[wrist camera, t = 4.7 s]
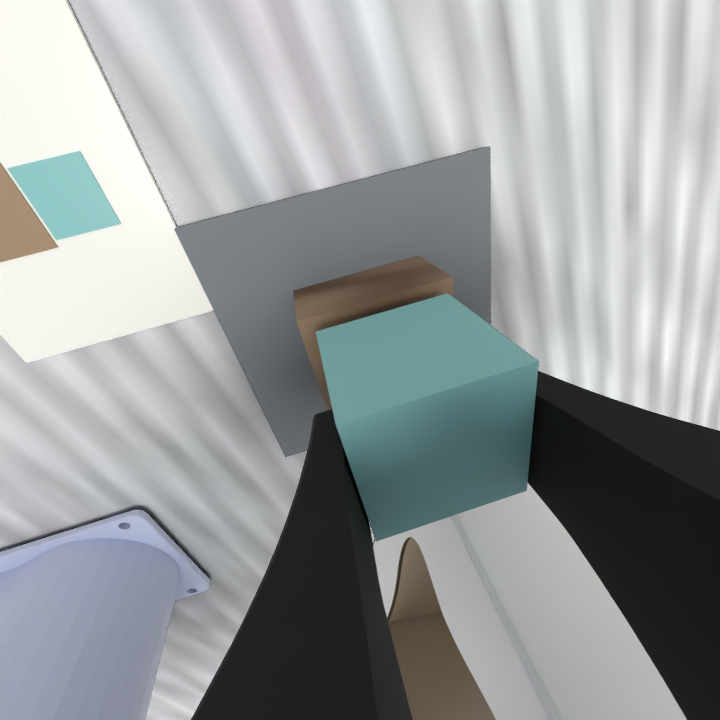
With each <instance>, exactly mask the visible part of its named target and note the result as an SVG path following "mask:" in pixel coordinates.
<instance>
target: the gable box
mask: <svg viewBox="0 0 720 720" xmlns="http://www.w3.org/2000/svg"><path fill="white" fill-rule="evenodd" d="M373 549H374V555H375V561H376V567H377V573H378V579H379V584H380V589H381V594H382V599H383V604H384V608H385V612H386V616H387V620H388V624H389V628H390V632H391V636H392V640H393V644H394V648H395V652H396V656H397V660H398V664H399V668H400V672H401V676H402V680H403V683H404V687H405V691H406V695H407V699H408V703H409V707H410V711H411V715H412V719H413V720H687V719H686V717H685V716H684V714H683V712H682V710H681V709H680V707H679V705H678V704H677V702H676V700H675V699H674V697H673V695H672V693H671V692H670V690H669V688H668V687H667V685H666V683H665V682H664V680H663V678H662V677H661V675H660V673H659V672H658V670H657V668H656V667H655V665H654V664H653V662H652V660H651V659H650V657H649V656H648V654H647V652H646V651H645V649H644V647H643V646H642V644H641V643H640V641H639V639H638V638H637V636H636V635H635V633H634V631H633V630H632V628H631V626H630V625H629V623H628V622H627V620H626V619H625V617H624V615H623V614H622V612H621V611H620V609H619V608H618V606H617V605H616V603H615V602H614V600H613V599H612V597H611V596H610V594H609V592H608V591H607V589H606V588H605V586H604V585H603V583H602V582H601V580H600V579H599V577H598V576H597V574H596V573H595V571H594V570H593V568H592V567H591V565H590V564H589V562H588V561H587V559H586V558H585V556H584V555H583V554H582V552H581V551H580V549H579V548H578V546H577V545H576V543H575V542H574V540H573V539H572V537H571V536H570V535H569V533H568V532H567V531H566V529H565V528H564V527H563V525H562V524H561V523H560V522H559V520H558V519H557V518H556V516H555V515H554V514H553V513H552V512H551V510H550V509H549V508H548V507H547V505H546V504H545V503H544V502H543V501H542V499H541V498H540V497H539V496H538V494H537V493H536V492H535V491H534V490H533V488H532V487H531V486H530V485H529V483H528V482H527V491H525V492H522V493H519V494H516V495H513V496H510V497H507V498H504V499H501V500H498V501H495V502H492V503H489V504H486V505H483V506H480V507H477V508H474V509H471V510H468V511H465V512H462V513H459V514H456V515H454V516H451V517H448V518H445V519H442V520H439V521H436V522H433V523H430V524H427V525H424V526H421V527H418V528H415V529H412V530H409V531H406V532H403V533H400V534H397V535H394V536H391V537H388V538H385V539H382V540H380V541H377V542H376V540H375V542H374V545H373Z"/></svg>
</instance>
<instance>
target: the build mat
mask: <svg viewBox="0 0 720 720" xmlns="http://www.w3.org/2000/svg"><path fill="white" fill-rule="evenodd" d="M174 230H175V232H176V234H177V236H178V238H179V240H180V243H181V245H182V247H183V249H184V251H185V253H186V255H187V257H188V259H189V261H190V263H191V265H192V267H193V269H194V271H195V273H196V275H197V277H198V279H199V281H200V283H201V285H202V287H203V290H204V292H205V294H206V296H207V298H208V300H209V302H210V304H211V306H212V308H213V310H214V312H215V314H216V316H217V318H218V320H219V322H220V324H221V326H222V328H223V330H224V332H225V334H226V336H227V339H228V341H229V343H230V345H231V347H232V349H233V351H234V353H235V355H236V357H237V359H238V361H239V363H240V365H241V367H242V369H243V371H244V373H245V375H246V377H247V379H248V381H249V383H250V385H251V388H252V390H253V392H254V394H255V396H256V398H257V400H258V402H259V404H260V406H261V408H262V410H263V412H264V414H265V416H266V418H267V420H268V422H269V424H270V426H271V428H272V430H273V432H274V435H275V437H276V439H277V441H278V443H279V445H280V447H281V449H282V451H283V453H284V455H285V457H287V456H290V455H293V454H296V453H299V452H303V451H306V450H308V445H309V441H310V435H311V429H312V422H313V418H314V416H315V414H317V413H321V412H324V411H327V408H326V405H325V402H324V399H323V396H322V393H321V390H320V388H319V385H318V382H317V379H316V376H315V373H314V370H313V368H312V365H311V362H310V359H309V356H308V353H307V351H306V348H305V345H304V342H303V339H302V336H301V333H300V331H299V328H298V325H297V322H296V314H295V304H294V294H293V290H297V289H300V288H304V287H307V286H311V285H315V284H318V283H322V282H325V281H329V280H332V279H336V278H340V277H343V276H347V275H350V274H354V273H358V272H361V271H365V270H368V269H372V268H375V267H379V266H383V265H386V264H390V263H393V262H397V261H400V260H404V259H408V258H411V257H415V256H420V257H422V258H423V259H425V260H426V261H428V262H430V263H431V264H433V265H434V266H436V267H438V268H439V269H441V270H442V271H444V272H446V273H447V274H449V275H450V276H452V277H453V290H454V298H455V299H456V300H458V301H459V302H460V303H462V304H463V305H464V306H466V307H467V308H468V309H470V310H471V311H472V312H474V313H475V314H476V315H478V316H479V317H480V318H482V319H483V320H484V321H486V322H487V323H488V324H490V325H491V256H490V147H483V148H479V149H475V150H471V151H467V152H464V153H460V154H456V155H452V156H448V157H444V158H441V159H437V160H433V161H429V162H425V163H421V164H418V165H414V166H410V167H406V168H402V169H398V170H394V171H391V172H387V173H383V174H379V175H375V176H371V177H368V178H364V179H360V180H356V181H352V182H348V183H344V184H341V185H337V186H333V187H329V188H325V189H321V190H318V191H314V192H310V193H306V194H302V195H298V196H295V197H291V198H287V199H283V200H279V201H275V202H271V203H268V204H264V205H260V206H256V207H252V208H248V209H245V210H241V211H237V212H233V213H229V214H225V215H222V216H218V217H214V218H210V219H206V220H202V221H198V222H195V223H191V224H187V225H183V226H179V227H176V228H175V229H174Z"/></svg>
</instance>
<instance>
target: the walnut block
mask: <svg viewBox="0 0 720 720" xmlns="http://www.w3.org/2000/svg"><path fill="white" fill-rule="evenodd" d="M447 293H448V294H449V295H451V296H452V297H454V290H453V277H452V276H450V275H449V274H447V273H446V272H444V271H442V270H441V269H439V268H438V267H436V266H434V265H433V264H431V263H430V262H428V261H426V260H425V259H423V258H422V257H420V256H415V257H411V258H408V259H404V260H400V261H397V262H393V263H390V264H386V265H383V266H379V267H375V268H372V269H368V270H365V271H361V272H358V273H354V274H350V275H347V276H343V277H340V278H336V279H332V280H329V281H325V282H322V283H318V284H315V285H311V286H307V287H304V288H300V289H297V290H293V294H294V304H295V314H296V322H297V325H298V328H299V331H300V333H301V336H302V339H303V342H304V345H305V348H306V351H307V353H308V356H309V359H310V362H311V365H312V368H313V370H314V373H315V376H316V379H317V382H318V385H319V388H320V390H321V393H322V396H323V399H324V402H325V405H326V408H327V410H331V409H332V405H331V401H330V396H329V391H328V387H327V382H326V378H325V373H324V368H323V364H322V359H321V355H320V350H319V346H318V341H317V336H316V331H320V330H323V329H327V328H330V327H333V326H337V325H340V324H344V323H347V322H351V321H354V320H358V319H361V318H364V317H368V316H371V315H375V314H378V313H382V312H385V311H389V310H392V309H395V308H399V307H402V306H406V305H409V304H413V303H416V302H420V301H423V300H426V299H430V298H433V297H437V296H440V295H444V294H447Z"/></svg>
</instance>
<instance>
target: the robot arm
mask: <svg viewBox="0 0 720 720" xmlns="http://www.w3.org/2000/svg"><path fill="white" fill-rule="evenodd" d="M528 483H529V485H530V486H531V487H532V488H533V490H534V491H535V492H536V493H537V494H538V496H539V497H540V498H541V499H542V501H543V502H544V503H545V504H546V505H547V507H548V508H549V509H550V510H551V512H552V513H553V514H554V515H555V516H556V518H557V519H558V520H559V522H560V523H561V524H562V525H563V527H564V528H565V529H566V531H567V532H568V533H569V535H570V536H571V537H572V539H573V540H574V542H575V543H576V545H577V546H578V548H579V549H580V551H581V552H582V554H583V555H584V556H585V558H586V559H587V561H588V562H589V564H590V565H591V567H592V568H593V570H594V571H595V573H596V574H597V576H598V577H599V579H600V580H601V582H602V583H603V585H604V586H605V588H606V589H607V591H608V592H609V594H610V596H611V597H612V599H613V600H614V602H615V603H616V605H617V606H618V608H619V609H620V611H621V612H622V614H623V615H624V617H625V619H626V620H627V622H628V623H629V625H630V626H631V628H632V630H633V631H634V633H635V635H636V636H637V638H638V639H639V641H640V643H641V644H642V646H643V647H644V649H645V651H646V652H647V654H648V656H649V657H650V659H651V660H652V662H653V664H654V665H655V667H656V668H657V670H658V672H659V673H660V675H661V677H662V678H663V680H664V682H665V683H666V685H667V687H668V688H669V690H670V692H671V693H672V695H673V697H674V699H675V700H676V702H677V704H678V705H679V707H680V709H681V710H682V712H683V714H684V716H685V717H686V719H687V720H720V431H718V430H714V429H710V428H707V427H703V426H700V425H696V424H692V423H689V422H685V421H681V420H678V419H674V418H671V417H667V416H664V415H660V414H657V413H654V412H650V411H647V410H644V409H641V408H638V407H635V406H632V405H629V404H626V403H623V402H620V401H617V400H614V399H611V398H608V397H605V396H603V395H600V394H597V393H594V392H591V391H589V390H586V389H583V388H581V387H578V386H575V385H573V384H570V383H567V382H565V381H562V380H560V379H557V378H555V377H552V376H550V375H547V374H545V373H542V372H540V371H538V376H537V387H536V397H535V408H534V418H533V429H532V440H531V450H530V461H529V471H528ZM209 586H210V579H209V578H208V577H207V576H206V575H205V574H204V573H203V572H202V571H201V570H200V569H199V568H198V567H197V565H196V564H195V563H194V562H193V561H192V560H191V559H190V558H189V557H188V556H187V555H186V554H185V553H184V552H183V551H182V550H181V549H180V547H179V546H178V545H177V544H176V543H175V542H174V541H173V540H172V539H171V538H170V537H169V536H168V535H167V534H166V533H165V532H164V531H163V529H162V528H161V527H160V526H159V525H158V524H157V523H156V522H155V521H154V520H153V519H152V518H151V517H150V516H149V515H148V514H147V513H146V512H145V511H142V510H132V511H129V512H126V513H122V514H119V515H116V516H113V517H110V518H107V519H103V520H100V521H97V522H94V523H91V524H87V525H84V526H81V527H78V528H75V529H72V530H68V531H65V532H62V533H59V534H56V535H52V536H49V537H46V538H43V539H40V540H37V541H33V542H30V543H27V544H24V545H21V546H17V547H14V548H11V549H8V550H5V551H2V552H0V720H145V719H146V715H147V711H148V706H149V702H150V698H151V694H152V690H153V686H154V682H155V678H156V674H157V670H158V666H159V662H160V658H161V654H162V650H163V645H164V641H165V637H166V633H167V629H168V625H169V621H170V617H171V613H172V609H173V605H174V601H177V600H180V599H183V598H186V597H189V596H192V595H195V594H198V593H201V592H204V591H206V590H207V589H209ZM191 720H413V719H412V715H411V711H410V707H409V703H408V699H407V695H406V691H405V687H404V683H403V680H402V676H401V672H400V668H399V664H398V660H397V656H396V652H395V648H394V644H393V640H392V636H391V632H390V628H389V624H388V620H387V616H386V612H385V608H384V604H383V599H382V594H381V589H380V584H379V579H378V573H377V567H376V561H375V555H374V549H373V543H372V537H371V531H370V525H369V520H368V517H367V514H366V511H365V508H364V505H363V502H362V499H361V496H360V493H359V491H358V488H357V485H356V482H355V479H354V476H353V473H352V470H351V467H350V464H349V462H348V459H347V456H346V453H345V450H344V447H343V444H342V441H341V438H340V435H339V433H338V430H337V427H336V424H335V419H334V414H333V410H332V409H331V410H327V411H324V412H321V413H317V414H315V416H314V418H313V422H312V429H311V435H310V441H309V445H308V450H307V454H306V458H305V462H304V466H303V469H302V473H301V477H300V480H299V484H298V487H297V490H296V493H295V496H294V499H293V502H292V505H291V508H290V511H289V514H288V517H287V520H286V523H285V526H284V528H283V531H282V534H281V536H280V539H279V541H278V544H277V547H276V549H275V551H274V554H273V556H272V559H271V561H270V563H269V566H268V568H267V571H266V573H265V575H264V577H263V580H262V582H261V584H260V586H259V588H258V590H257V592H256V595H255V597H254V599H253V601H252V603H251V605H250V608H249V610H248V612H247V614H246V616H245V618H244V620H243V622H242V624H241V626H240V628H239V630H238V632H237V634H236V636H235V638H234V640H233V642H232V644H231V646H230V648H229V650H228V652H227V654H226V656H225V657H224V659H223V661H222V663H221V665H220V667H219V669H218V670H217V672H216V674H215V676H214V678H213V680H212V682H211V683H210V685H209V687H208V689H207V691H206V693H205V695H204V697H203V698H202V700H201V702H200V704H199V706H198V708H197V710H196V711H195V713H194V715H193V717H192V719H191Z"/></svg>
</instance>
